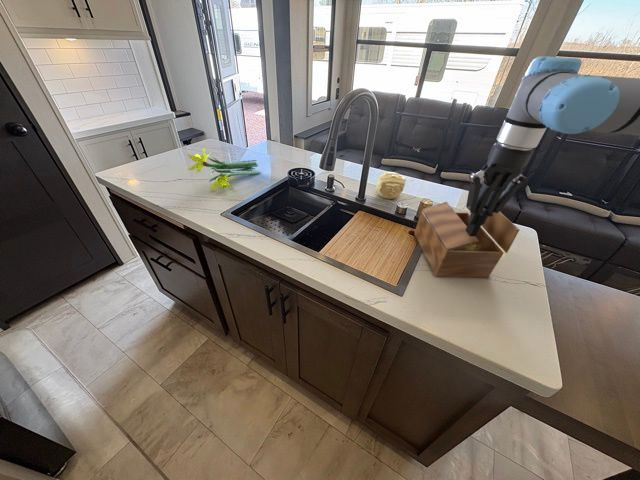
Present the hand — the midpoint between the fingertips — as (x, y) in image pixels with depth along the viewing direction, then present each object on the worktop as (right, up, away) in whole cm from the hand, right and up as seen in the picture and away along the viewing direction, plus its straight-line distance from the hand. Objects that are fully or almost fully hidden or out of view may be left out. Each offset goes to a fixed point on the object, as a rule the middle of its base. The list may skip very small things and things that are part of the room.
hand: (470, 233), depth 69 cm
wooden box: (+1, -6, +14) cm, 16 cm away
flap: (-3, +3, +7) cm, 8 cm away
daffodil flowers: (-82, +25, +50) cm, 99 cm away
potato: (+1, -10, +10) cm, 14 cm away
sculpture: (-10, +18, +45) cm, 50 cm away
